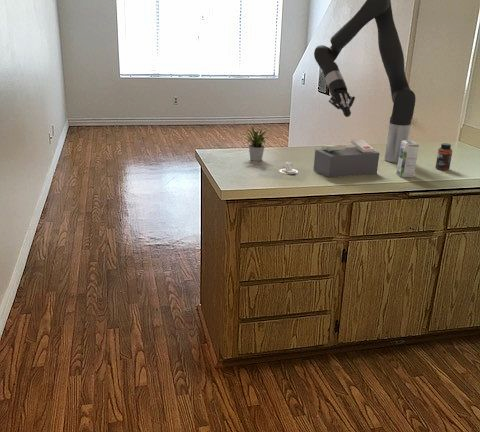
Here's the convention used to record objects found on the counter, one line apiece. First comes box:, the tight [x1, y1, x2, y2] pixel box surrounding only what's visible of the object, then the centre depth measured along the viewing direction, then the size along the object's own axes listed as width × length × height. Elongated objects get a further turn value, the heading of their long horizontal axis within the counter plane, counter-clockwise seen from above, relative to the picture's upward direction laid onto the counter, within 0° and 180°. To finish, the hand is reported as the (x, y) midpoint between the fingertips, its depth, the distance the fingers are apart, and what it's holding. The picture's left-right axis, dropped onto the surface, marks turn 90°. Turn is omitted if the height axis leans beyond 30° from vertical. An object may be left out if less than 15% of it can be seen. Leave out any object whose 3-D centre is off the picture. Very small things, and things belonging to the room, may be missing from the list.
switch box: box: [313, 146, 380, 179], centre depth 223 cm, size 24×12×9 cm, turn 113°
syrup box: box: [396, 139, 420, 178], centre depth 220 cm, size 6×6×14 cm
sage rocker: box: [321, 144, 346, 151], centre depth 218 cm, size 5×10×2 cm, turn 23°
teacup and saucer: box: [279, 161, 299, 175], centre depth 220 cm, size 9×8×4 cm
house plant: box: [242, 123, 272, 162], centre depth 235 cm, size 14×14×16 cm
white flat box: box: [350, 138, 375, 153], centre depth 223 cm, size 5×10×2 cm, turn 23°
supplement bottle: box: [435, 142, 453, 171], centre depth 233 cm, size 6×6×11 cm
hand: (348, 115), depth 230 cm, fingers closed
